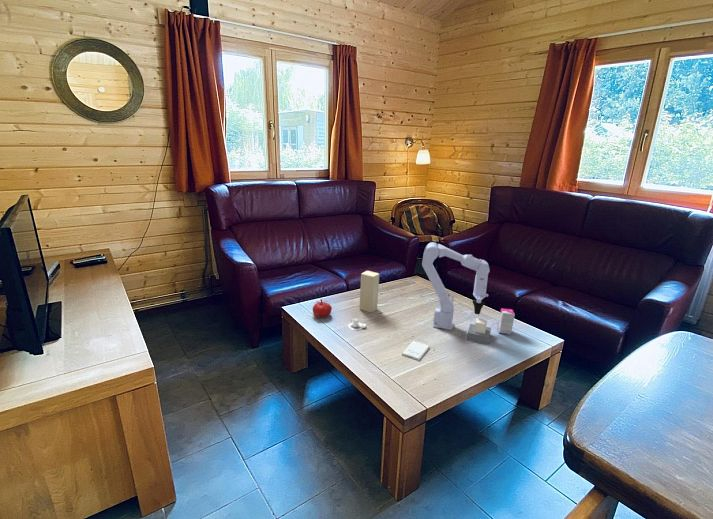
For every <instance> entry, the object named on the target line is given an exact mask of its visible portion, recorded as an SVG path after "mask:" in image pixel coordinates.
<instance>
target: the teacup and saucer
mask: <svg viewBox="0 0 713 519" xmlns="http://www.w3.org/2000/svg"><path fill="white" fill-rule="evenodd" d="M347 326H348V328H349V329H350V330H353V331H358V330H359V331H360V330H362V329H364V328H366V327H367V324H366V323H361V322H360V318H352V319H351V320H350V323H348V325H347ZM351 326H353V327H354V328H352V327H351Z"/></svg>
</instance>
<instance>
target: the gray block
mask: <svg viewBox="0 0 713 519" xmlns="http://www.w3.org/2000/svg"><path fill="white" fill-rule="evenodd" d="M474 330H475V324H474V323H473V324H472V323H470V324H469V327H468V330H467V336H466V340H468V341H472V342H478V343H482V344H487V345H489V344H490V338H491V331H492V327H488V326H486V332H485V334H483V333H478V332H474Z"/></svg>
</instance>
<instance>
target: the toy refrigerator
mask: <svg viewBox="0 0 713 519" xmlns="http://www.w3.org/2000/svg"><path fill="white" fill-rule="evenodd" d="M379 284H380V273H378V272H374V271H372V270H371V271H370V270H365V271H364V272H362V273H360V292H359V310H361V311H365V312H367V313H374V312H375V311H376V310H377V309H378V302H379V301H378V300H379Z"/></svg>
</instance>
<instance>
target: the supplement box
mask: <svg viewBox="0 0 713 519" xmlns="http://www.w3.org/2000/svg"><path fill="white" fill-rule="evenodd" d="M515 316H516V314H515V312H514V310H513V309H511V308H500V312H499V318H498V323H497V331H498V334H500V335H506V334H507V335H508V336H511V335H512V331H513V326H514V320H515Z"/></svg>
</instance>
